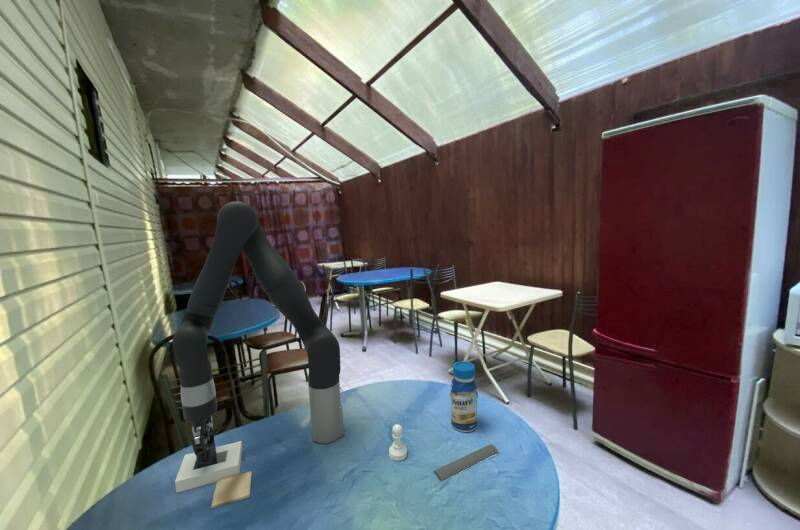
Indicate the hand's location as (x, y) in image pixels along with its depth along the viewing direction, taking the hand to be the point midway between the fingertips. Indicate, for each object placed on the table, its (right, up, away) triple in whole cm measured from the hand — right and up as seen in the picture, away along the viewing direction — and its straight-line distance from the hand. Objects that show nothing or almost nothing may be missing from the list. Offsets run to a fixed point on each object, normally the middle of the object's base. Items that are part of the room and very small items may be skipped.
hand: (206, 456), depth 86 cm
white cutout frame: (+1, -4, +1) cm, 4 cm away
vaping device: (0, -4, +1) cm, 4 cm away
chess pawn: (+51, -2, +5) cm, 51 cm away
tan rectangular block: (+10, -5, -6) cm, 12 cm away
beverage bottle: (+72, 0, +17) cm, 74 cm away
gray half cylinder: (+70, -3, +1) cm, 70 cm away
